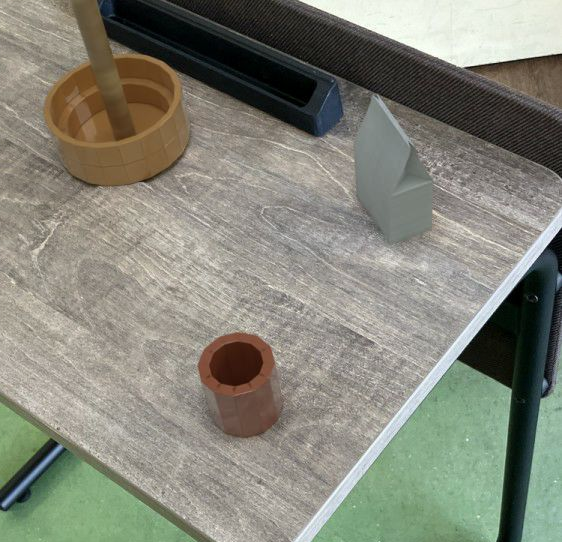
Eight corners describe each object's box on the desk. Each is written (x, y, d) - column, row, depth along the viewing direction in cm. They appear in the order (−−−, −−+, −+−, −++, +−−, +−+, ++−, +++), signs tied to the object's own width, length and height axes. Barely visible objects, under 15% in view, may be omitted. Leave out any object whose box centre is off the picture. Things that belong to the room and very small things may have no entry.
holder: (202, 432, 69) (187, 387, 64) (225, 374, 72) (212, 326, 67) (270, 446, 68) (260, 401, 63) (291, 387, 71) (283, 339, 66)
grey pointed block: (390, 249, 77) (389, 156, 69) (356, 195, 81) (351, 101, 73) (431, 233, 78) (435, 140, 69) (395, 180, 81) (395, 86, 73)
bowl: (38, 179, 86) (20, 137, 82) (91, 90, 92) (77, 47, 88) (163, 198, 83) (151, 155, 79) (209, 105, 89) (199, 61, 85)
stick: (111, 143, 87) (60, -14, 74) (120, 128, 88) (70, -29, 75) (131, 146, 86) (83, -11, 73) (140, 131, 87) (93, -27, 74)
